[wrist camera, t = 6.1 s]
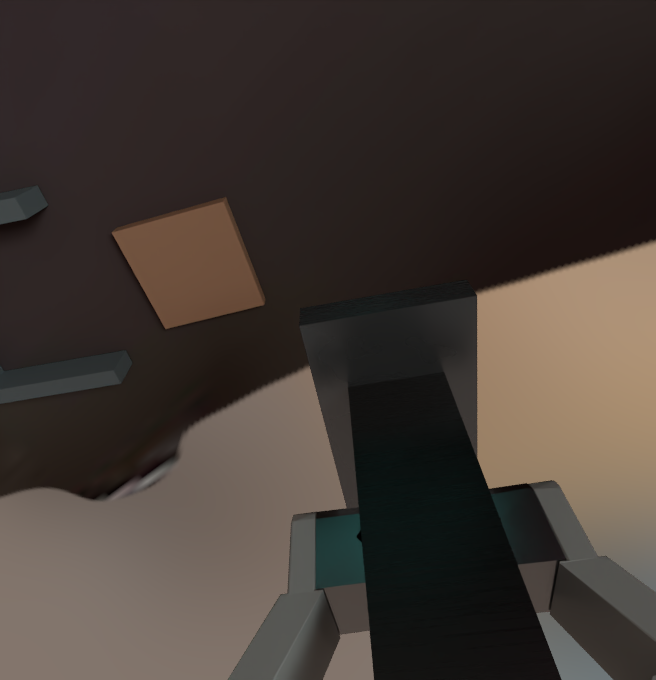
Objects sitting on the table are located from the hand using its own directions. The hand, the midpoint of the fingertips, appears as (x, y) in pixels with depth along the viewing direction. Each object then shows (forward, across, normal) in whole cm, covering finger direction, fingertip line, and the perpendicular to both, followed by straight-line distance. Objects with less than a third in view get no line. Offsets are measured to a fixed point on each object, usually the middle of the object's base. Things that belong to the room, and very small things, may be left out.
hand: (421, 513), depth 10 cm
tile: (+18, +9, 0) cm, 20 cm away
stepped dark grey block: (+4, 0, 0) cm, 4 cm away
